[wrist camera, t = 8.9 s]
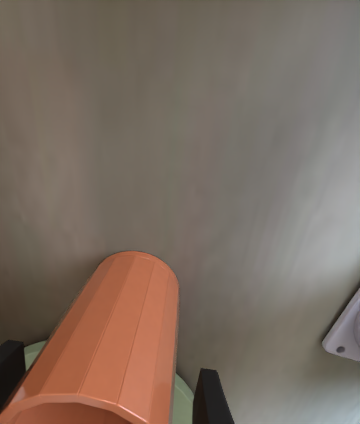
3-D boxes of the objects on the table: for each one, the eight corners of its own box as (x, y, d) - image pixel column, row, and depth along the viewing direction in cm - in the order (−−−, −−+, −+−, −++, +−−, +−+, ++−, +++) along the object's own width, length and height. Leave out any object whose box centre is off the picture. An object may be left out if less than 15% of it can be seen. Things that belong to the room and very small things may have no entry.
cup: (191, 266, 14) (193, 424, 7) (164, 334, 16) (142, 519, 9) (101, 238, 14) (-4, 373, 6) (83, 311, 16) (-15, 483, 8)
